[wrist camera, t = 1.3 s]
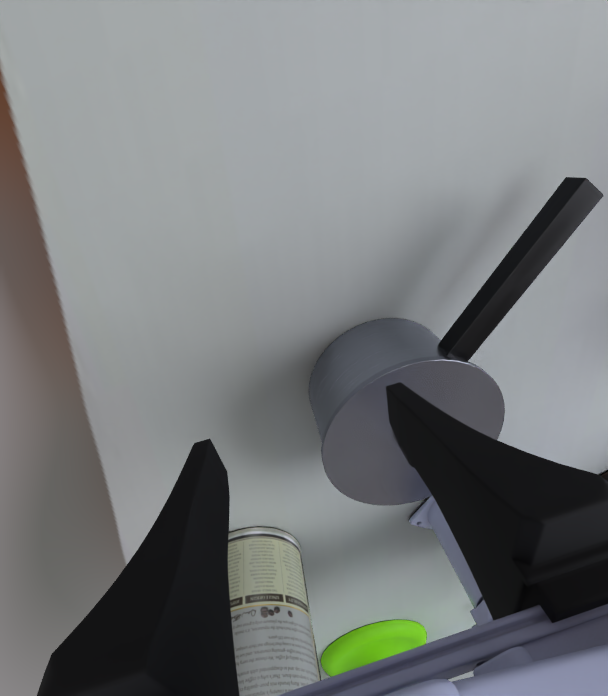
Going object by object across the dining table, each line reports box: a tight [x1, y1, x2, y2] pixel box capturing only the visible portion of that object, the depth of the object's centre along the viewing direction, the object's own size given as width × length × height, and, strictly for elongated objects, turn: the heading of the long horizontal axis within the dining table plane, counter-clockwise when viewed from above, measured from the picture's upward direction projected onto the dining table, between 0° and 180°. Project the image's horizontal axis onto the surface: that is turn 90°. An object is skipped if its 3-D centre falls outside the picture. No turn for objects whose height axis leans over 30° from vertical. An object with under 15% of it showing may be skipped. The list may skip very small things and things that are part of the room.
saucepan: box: [309, 177, 603, 505], centre depth 21 cm, size 12×22×8 cm, turn 151°
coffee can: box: [228, 527, 321, 696], centre depth 28 cm, size 10×10×14 cm
